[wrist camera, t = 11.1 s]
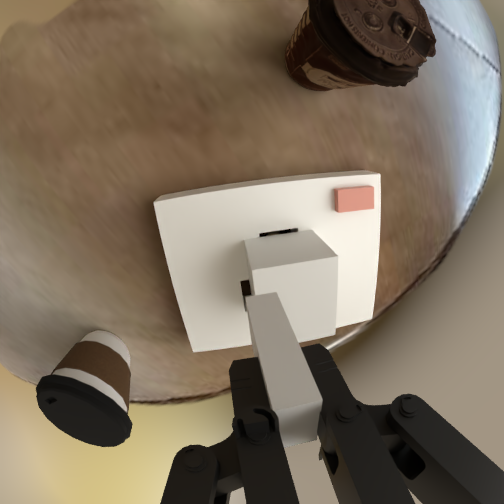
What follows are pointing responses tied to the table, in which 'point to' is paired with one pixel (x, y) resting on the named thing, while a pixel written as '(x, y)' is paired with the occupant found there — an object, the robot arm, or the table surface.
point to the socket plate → (249, 226)
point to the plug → (297, 279)
